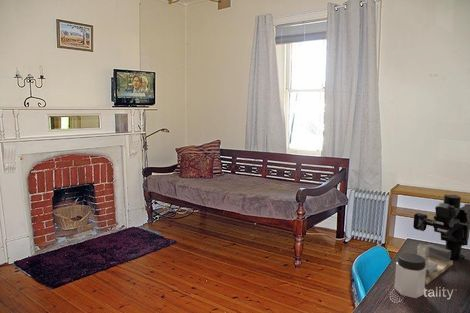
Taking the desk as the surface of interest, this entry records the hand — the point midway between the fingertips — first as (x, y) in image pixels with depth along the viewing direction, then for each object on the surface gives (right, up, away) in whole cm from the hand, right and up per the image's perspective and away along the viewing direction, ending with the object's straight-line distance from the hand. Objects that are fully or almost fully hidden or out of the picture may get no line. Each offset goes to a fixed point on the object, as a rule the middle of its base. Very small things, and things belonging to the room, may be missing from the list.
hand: (431, 231), depth 130 cm
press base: (+2, -16, +7) cm, 17 cm away
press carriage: (-2, -14, +3) cm, 15 cm away
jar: (-13, -18, -10) cm, 24 cm away
